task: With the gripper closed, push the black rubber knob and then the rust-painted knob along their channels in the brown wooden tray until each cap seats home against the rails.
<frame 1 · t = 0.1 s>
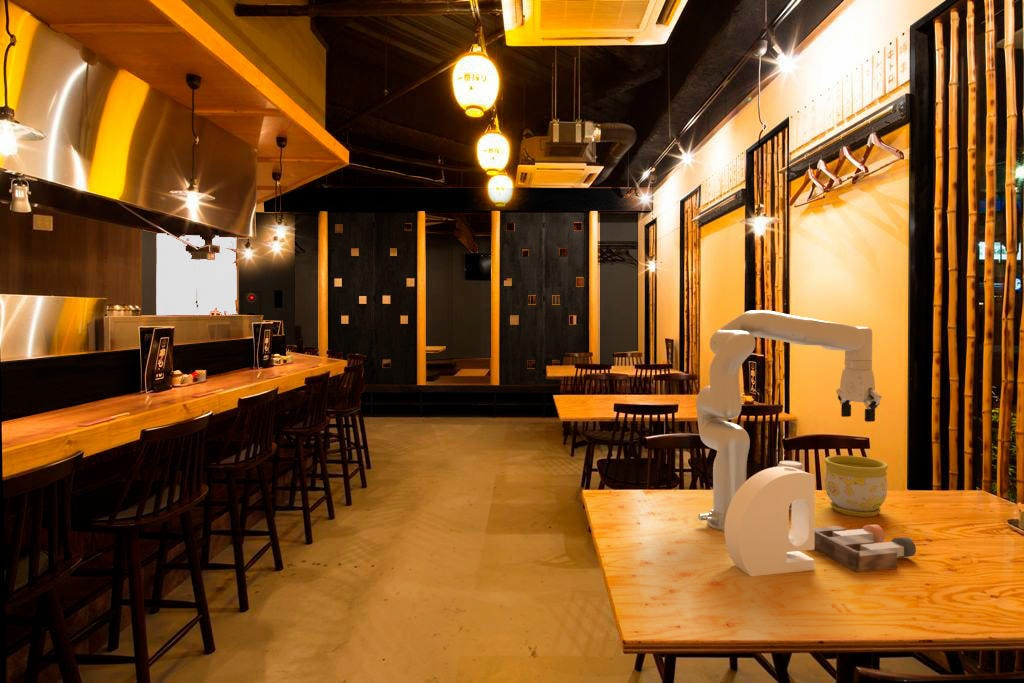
hand: (857, 418, 188), 31 cm above the table, fingers open, 9 cm apart
black knob: (886, 548, 154), point 3 cm above the table, slide at 0.0 cm
flowerpot: (854, 511, 194), on the table
bracket: (768, 568, 149), on the table
supplement can: (790, 507, 198), on the table
rust knob: (857, 535, 164), point 3 cm above the table, slide at 0.0 cm
brown wooden tray: (846, 554, 157), on the table
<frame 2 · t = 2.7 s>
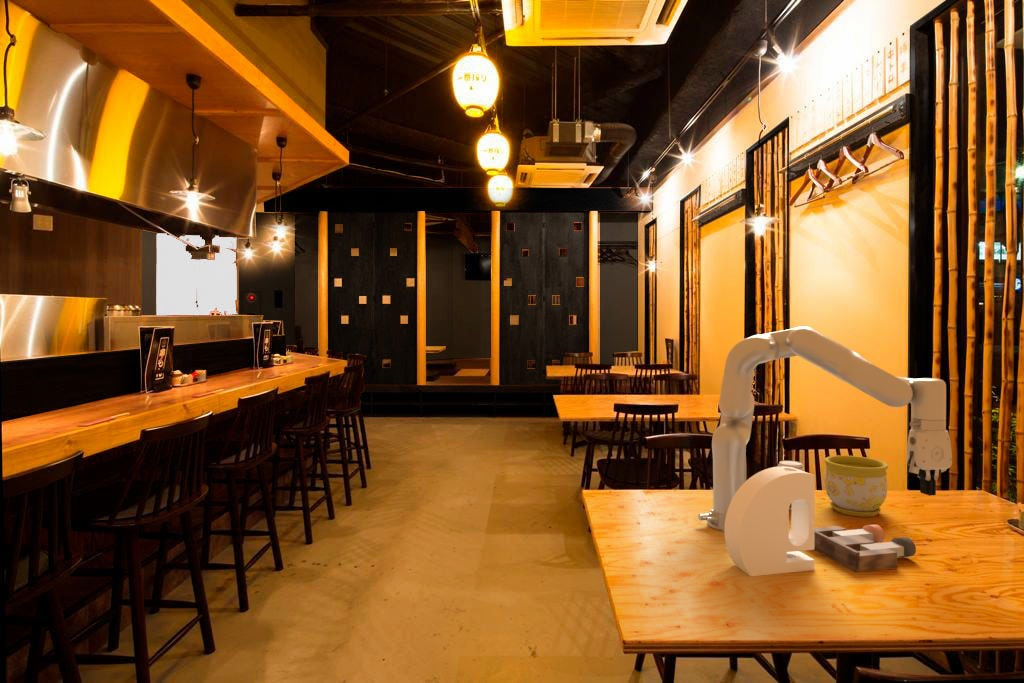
hand: (927, 493, 156), 17 cm above the table, fingers closed
nothing on the table moved.
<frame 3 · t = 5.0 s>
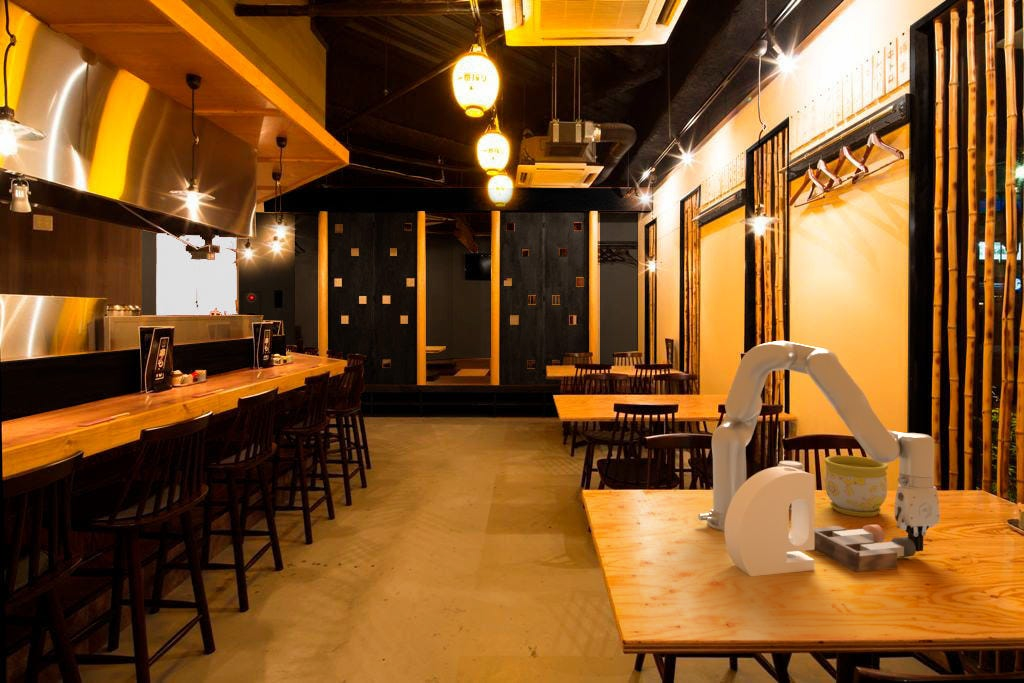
hand: (915, 549, 156), 2 cm above the table, fingers closed
black knob: (886, 548, 154), point 3 cm above the table, slide at 0.0 cm, touching gripper
everything else where it was.
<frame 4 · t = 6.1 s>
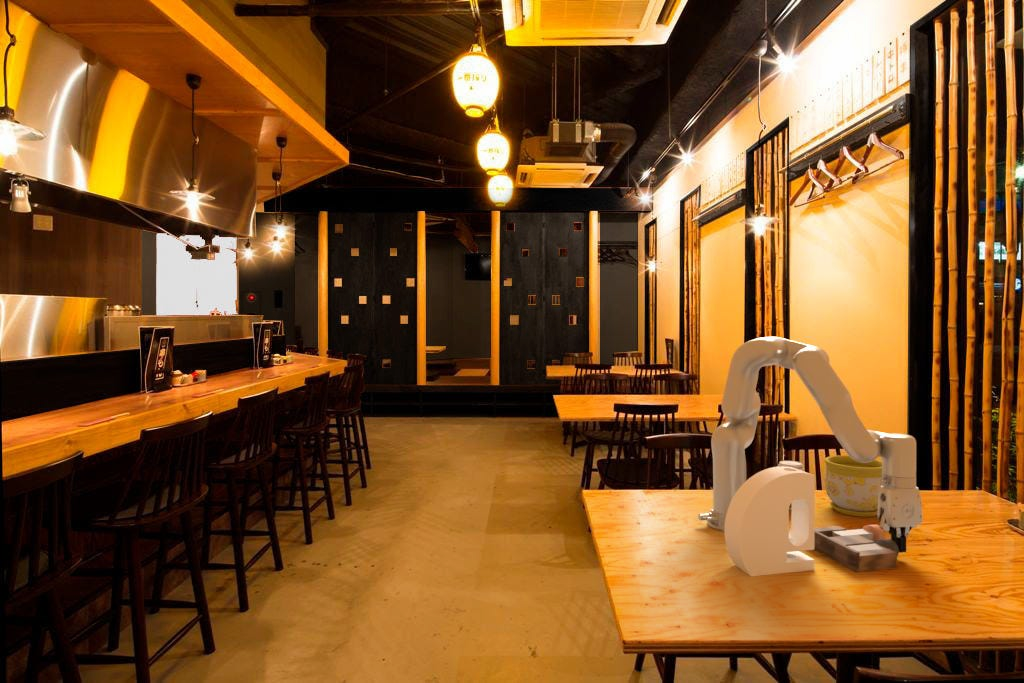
hand: (898, 550, 155), 2 cm above the table, fingers closed
black knob: (869, 550, 153), point 3 cm above the table, slide at 5.2 cm, touching gripper
everything else where it was.
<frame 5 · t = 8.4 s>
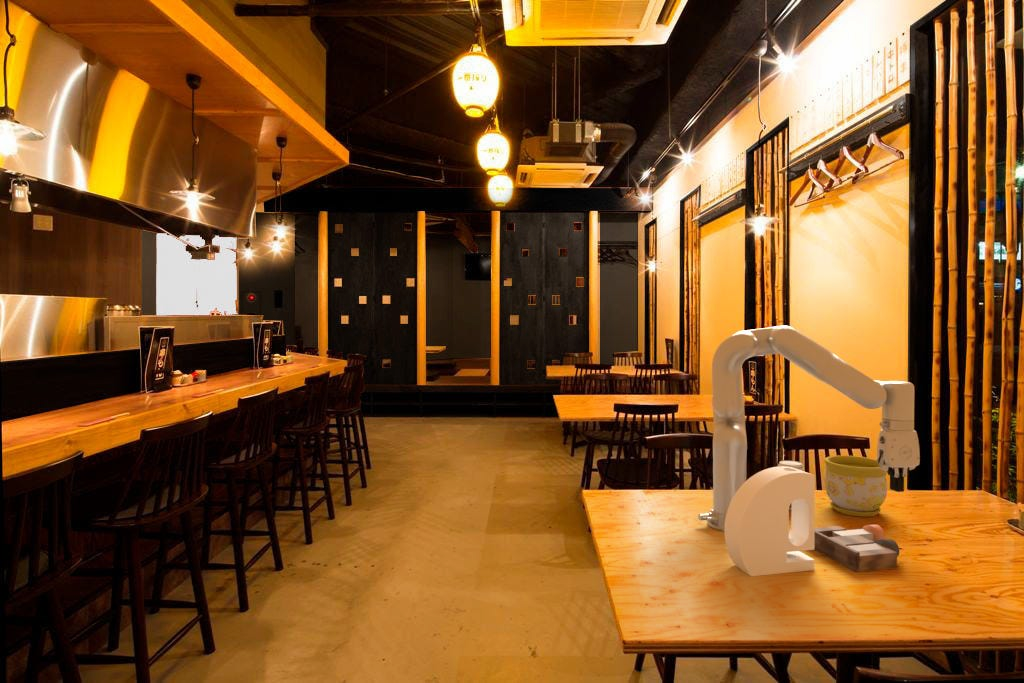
hand: (896, 490, 164), 15 cm above the table, fingers closed
black knob: (870, 550, 153), point 3 cm above the table, slide at 5.0 cm
everything else where it was.
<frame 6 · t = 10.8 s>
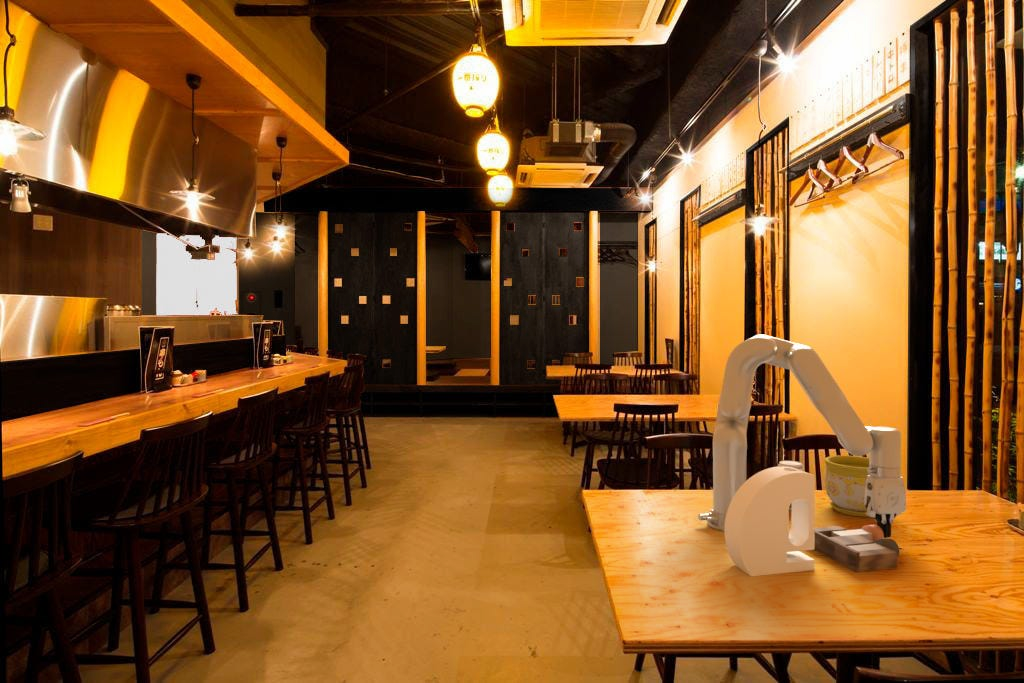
hand: (883, 535, 165), 2 cm above the table, fingers closed
rust knob: (856, 535, 164), point 3 cm above the table, slide at 0.3 cm, touching gripper
everything else where it was.
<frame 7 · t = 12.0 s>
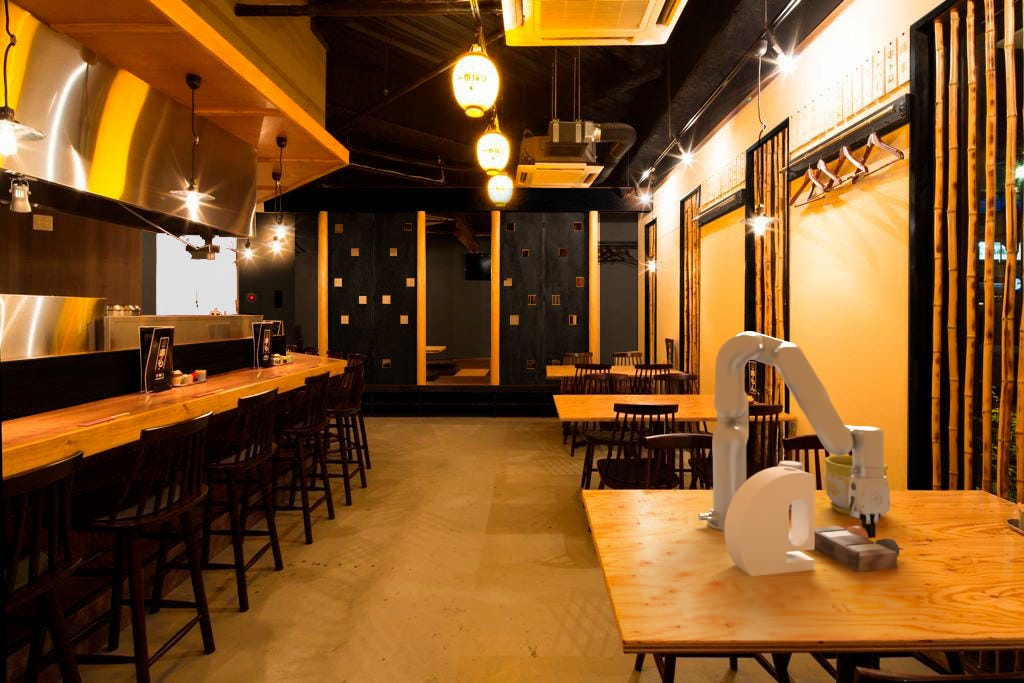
hand: (868, 536, 164), 2 cm above the table, fingers closed
rust knob: (841, 536, 163), point 3 cm above the table, slide at 5.3 cm, touching gripper
everything else where it was.
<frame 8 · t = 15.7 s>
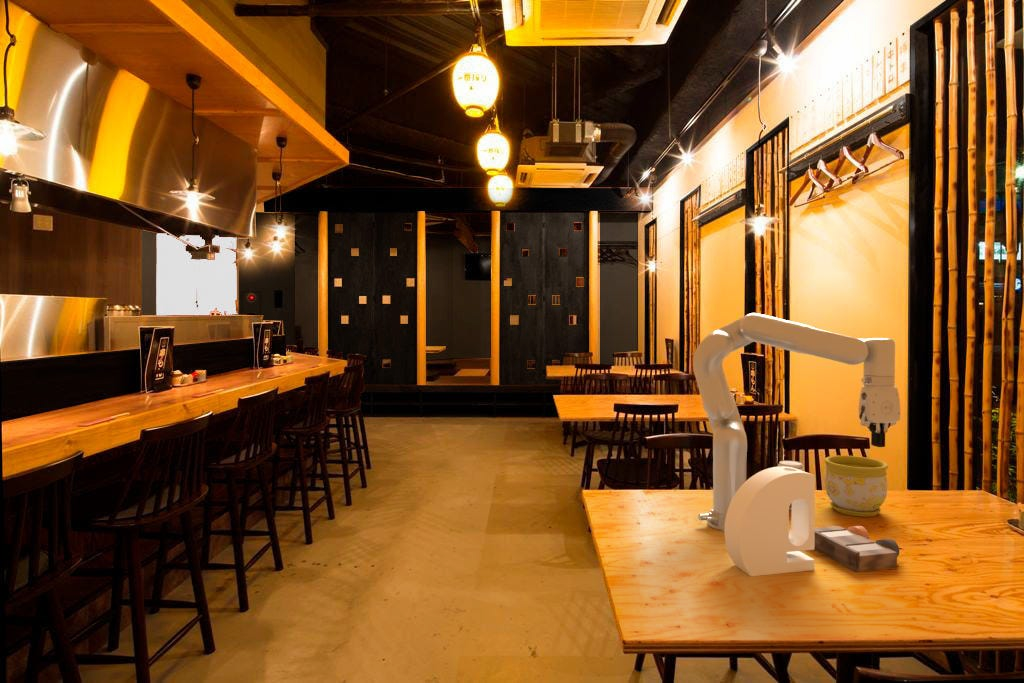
hand: (878, 446, 166), 27 cm above the table, fingers closed
rust knob: (841, 536, 163), point 3 cm above the table, slide at 5.0 cm
everything else where it was.
at the end: black knob slide at 5.0 cm; rust knob slide at 5.0 cm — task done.
